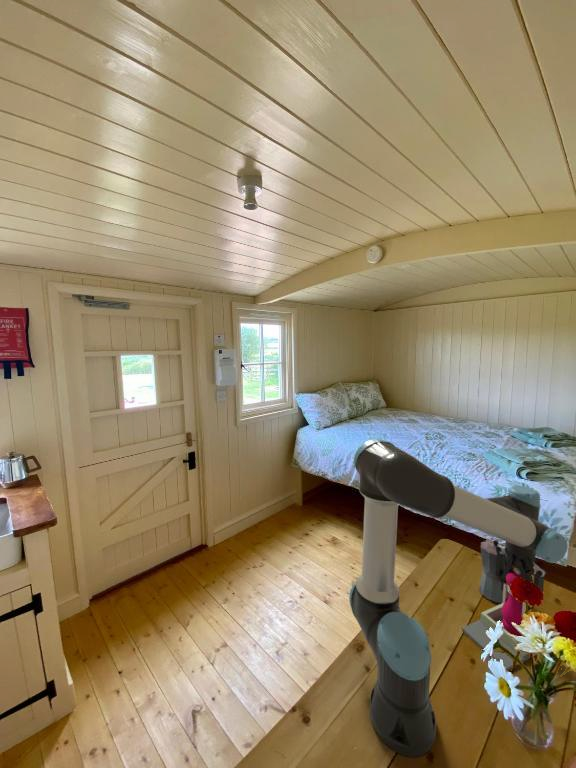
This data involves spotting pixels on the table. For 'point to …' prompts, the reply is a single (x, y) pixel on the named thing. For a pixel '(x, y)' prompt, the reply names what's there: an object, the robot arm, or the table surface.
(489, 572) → the moka pot
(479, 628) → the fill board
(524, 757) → the table surface
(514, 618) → the pepper mill
